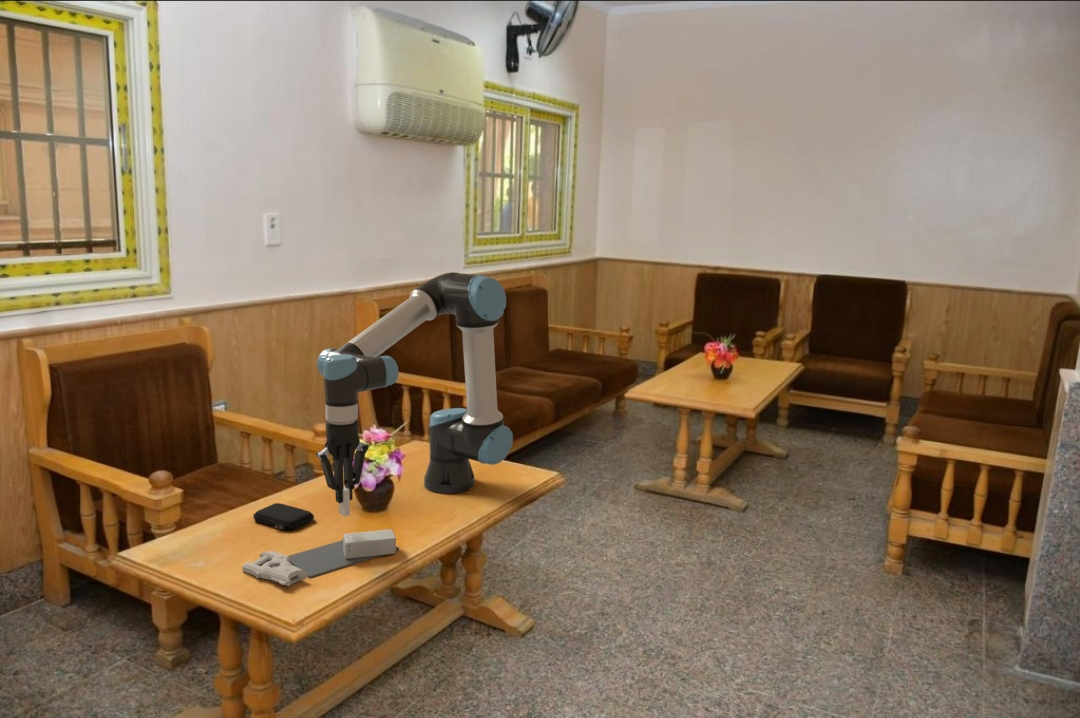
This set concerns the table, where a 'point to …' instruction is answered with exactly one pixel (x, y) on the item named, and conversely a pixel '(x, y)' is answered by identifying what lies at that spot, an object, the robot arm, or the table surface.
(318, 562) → the mat
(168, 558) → the table surface
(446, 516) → the table surface
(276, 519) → the carrying case or bag
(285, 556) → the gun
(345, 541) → the skincare box
